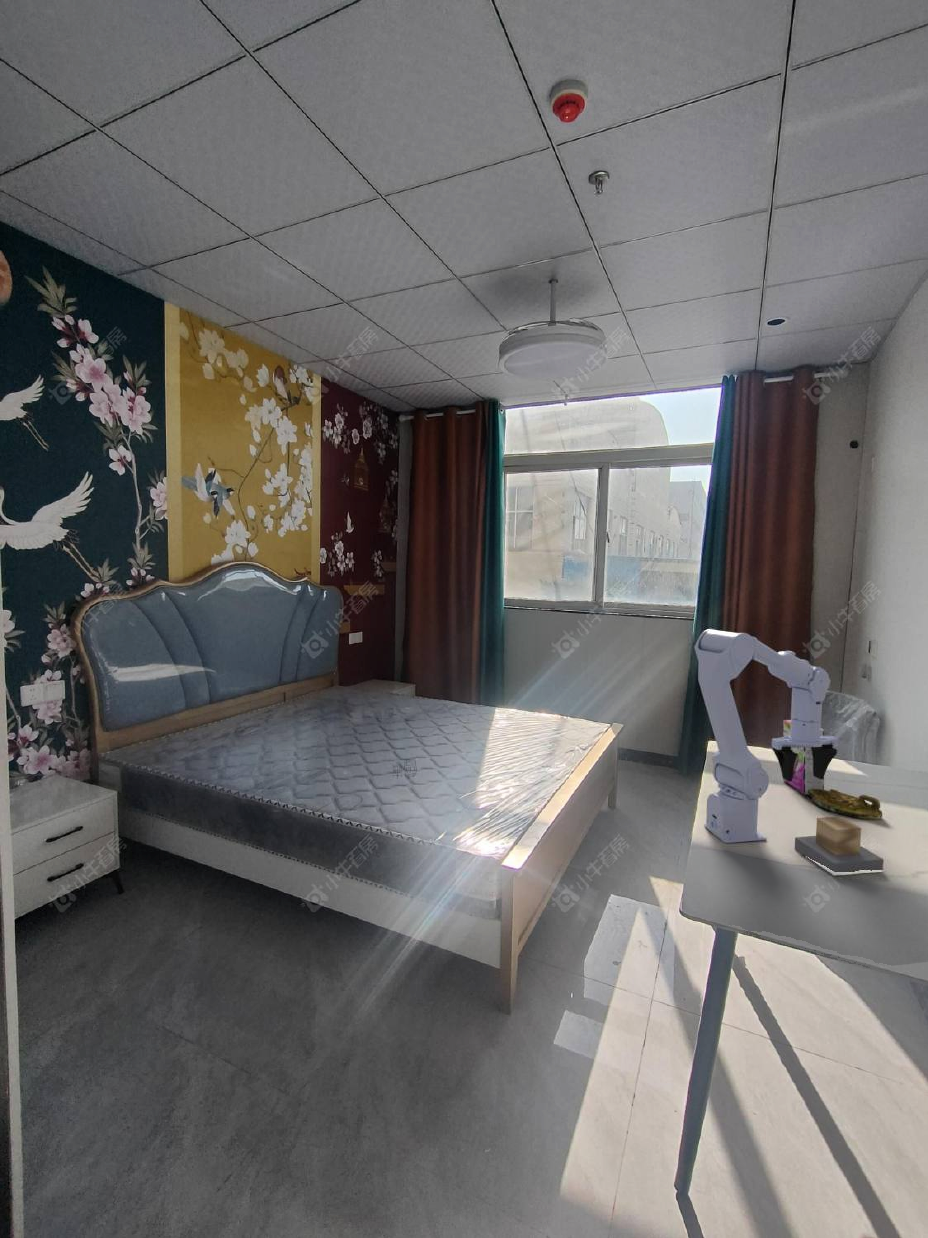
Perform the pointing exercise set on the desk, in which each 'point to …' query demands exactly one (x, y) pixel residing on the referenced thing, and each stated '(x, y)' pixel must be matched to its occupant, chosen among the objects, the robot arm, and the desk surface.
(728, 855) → the desk surface
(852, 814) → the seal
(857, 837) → the oak cube
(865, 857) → the charcoal plinth
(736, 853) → the desk surface
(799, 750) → the candy bar box
